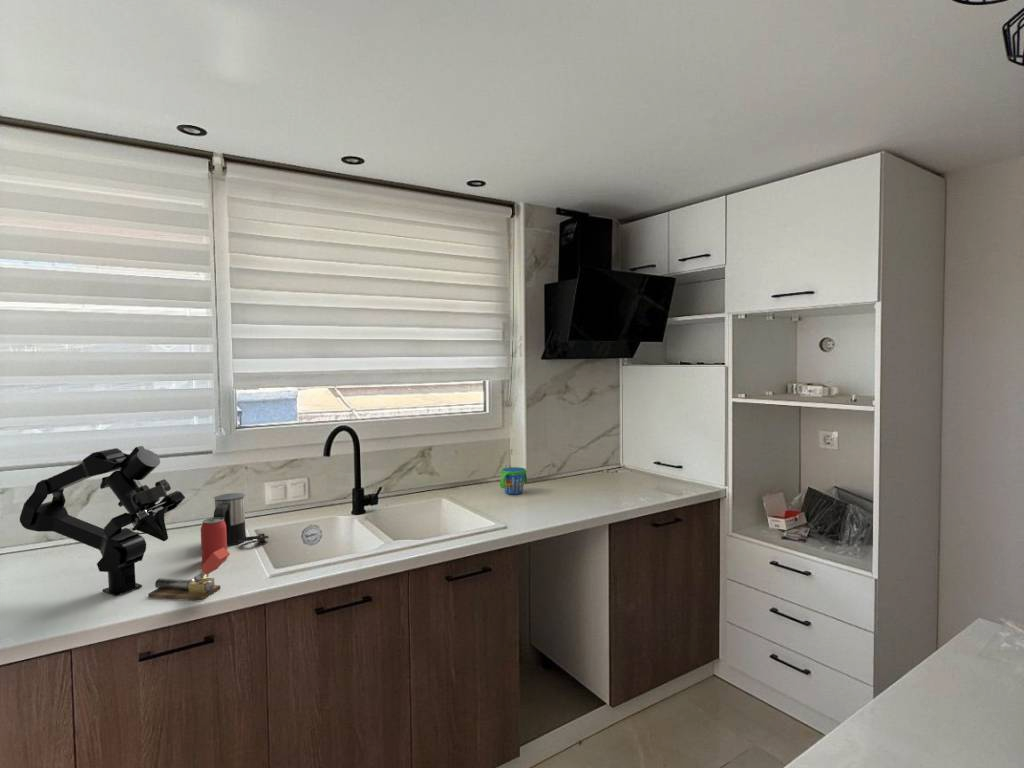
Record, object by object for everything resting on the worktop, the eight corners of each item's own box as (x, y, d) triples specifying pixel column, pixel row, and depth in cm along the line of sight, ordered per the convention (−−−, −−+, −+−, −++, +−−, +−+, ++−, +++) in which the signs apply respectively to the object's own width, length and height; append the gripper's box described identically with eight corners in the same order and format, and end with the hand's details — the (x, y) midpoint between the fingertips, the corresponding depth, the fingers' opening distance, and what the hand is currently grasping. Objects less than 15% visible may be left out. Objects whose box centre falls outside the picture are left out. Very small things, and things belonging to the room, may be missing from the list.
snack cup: (518, 487, 252) (517, 464, 252) (535, 491, 245) (535, 468, 244) (491, 494, 241) (491, 470, 241) (509, 498, 234) (509, 473, 233)
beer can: (221, 555, 171) (219, 515, 171) (231, 559, 167) (229, 519, 166) (198, 561, 166) (196, 520, 166) (208, 566, 162) (206, 524, 161)
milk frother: (216, 539, 187) (214, 494, 186) (269, 532, 193) (267, 489, 192) (212, 553, 173) (210, 504, 173) (268, 545, 179) (267, 499, 179)
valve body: (152, 592, 143) (152, 580, 143) (164, 585, 147) (164, 574, 147) (205, 595, 141) (205, 583, 141) (216, 588, 145) (215, 577, 145)
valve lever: (190, 578, 141) (213, 552, 140) (201, 572, 145) (223, 547, 144) (197, 585, 141) (219, 559, 140) (208, 579, 145) (230, 553, 144)
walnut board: (148, 597, 142) (148, 593, 142) (169, 586, 149) (169, 582, 148) (201, 600, 139) (201, 596, 139) (220, 589, 146) (220, 585, 146)
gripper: (107, 487, 133) (146, 540, 132) (176, 461, 150) (212, 508, 149) (86, 512, 137) (125, 564, 136) (157, 484, 154) (191, 530, 153)
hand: (166, 539), depth 144 cm, fingers closed
